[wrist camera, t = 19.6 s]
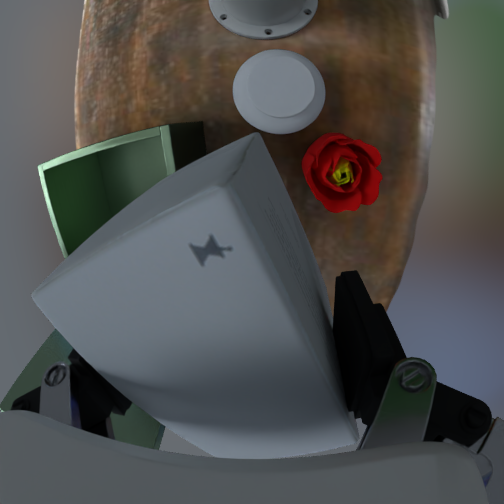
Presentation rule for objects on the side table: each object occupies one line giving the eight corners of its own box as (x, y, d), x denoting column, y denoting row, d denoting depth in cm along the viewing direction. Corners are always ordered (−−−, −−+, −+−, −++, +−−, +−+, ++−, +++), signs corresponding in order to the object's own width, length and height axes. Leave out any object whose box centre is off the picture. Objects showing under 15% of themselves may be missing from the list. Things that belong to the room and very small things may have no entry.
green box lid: (-3, 407, 11) (31, 441, 13) (145, 475, 10) (175, 496, 12) (79, 300, 27) (95, 334, 29) (201, 301, 26) (211, 341, 28)
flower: (322, 118, 28) (340, 119, 21) (372, 156, 30) (400, 169, 23) (286, 171, 31) (293, 187, 24) (337, 205, 33) (355, 230, 26)
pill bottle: (287, 59, 25) (301, 22, 13) (319, 112, 28) (356, 109, 16) (230, 89, 27) (206, 69, 15) (264, 140, 30) (262, 156, 18)
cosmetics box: (152, 184, 14) (19, 298, 5) (258, 129, 13) (243, 163, 3) (237, 320, 18) (219, 467, 9) (327, 289, 17) (367, 443, 8)
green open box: (95, 146, 30) (37, 165, 20) (202, 121, 29) (168, 124, 18) (121, 254, 38) (82, 300, 28) (220, 247, 37) (203, 301, 26)
